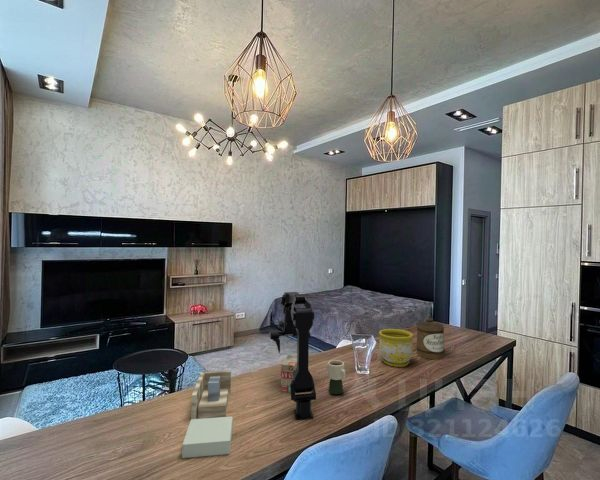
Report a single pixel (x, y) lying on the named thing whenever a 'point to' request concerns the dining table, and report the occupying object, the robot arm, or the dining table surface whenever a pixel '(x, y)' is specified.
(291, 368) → the stack of blocks
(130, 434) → the dining table surface
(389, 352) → the flowerpot
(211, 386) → the slate block
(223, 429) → the pad
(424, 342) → the wooden container
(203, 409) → the beige stepped piece
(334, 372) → the character mug
